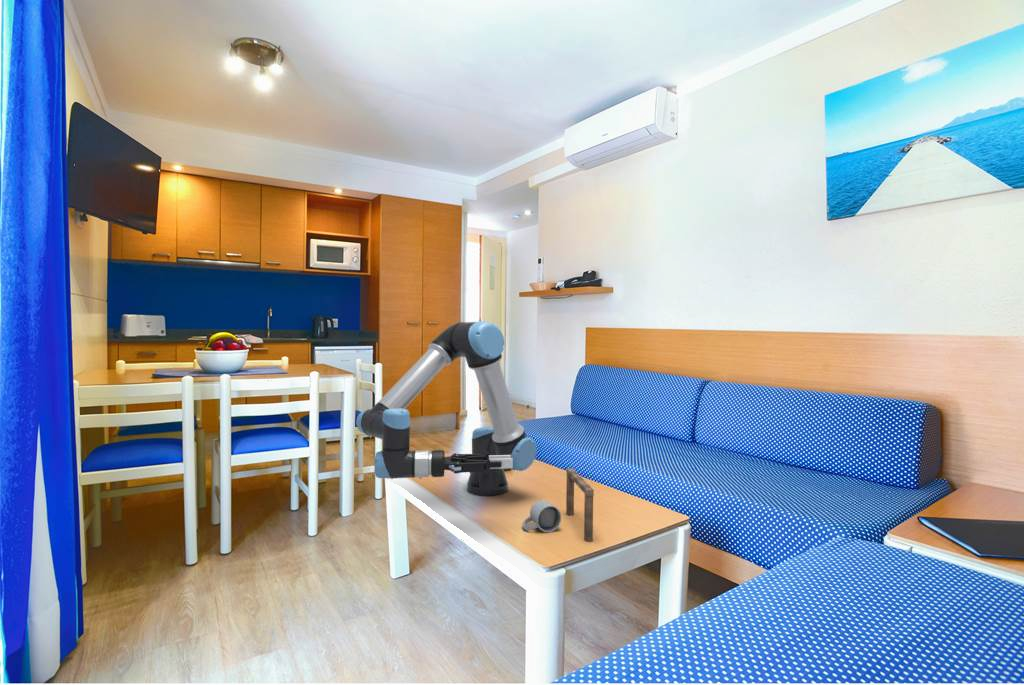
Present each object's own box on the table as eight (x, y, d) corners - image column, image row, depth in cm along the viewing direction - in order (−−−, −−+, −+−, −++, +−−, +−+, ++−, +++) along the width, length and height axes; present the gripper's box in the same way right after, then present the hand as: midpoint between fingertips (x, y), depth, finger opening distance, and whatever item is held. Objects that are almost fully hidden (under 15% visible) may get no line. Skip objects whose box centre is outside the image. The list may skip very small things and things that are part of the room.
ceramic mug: (550, 520, 151) (550, 496, 150) (561, 530, 143) (561, 504, 143) (518, 525, 147) (518, 500, 147) (527, 536, 139) (527, 509, 139)
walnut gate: (565, 512, 157) (565, 468, 157) (572, 512, 158) (573, 468, 158) (585, 541, 135) (586, 490, 135) (593, 541, 136) (594, 489, 135)
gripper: (431, 469, 148) (507, 466, 152) (429, 485, 132) (515, 482, 135) (431, 444, 148) (507, 442, 151) (430, 457, 132) (515, 455, 135)
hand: (511, 461), depth 143 cm, fingers open, 3 cm apart
